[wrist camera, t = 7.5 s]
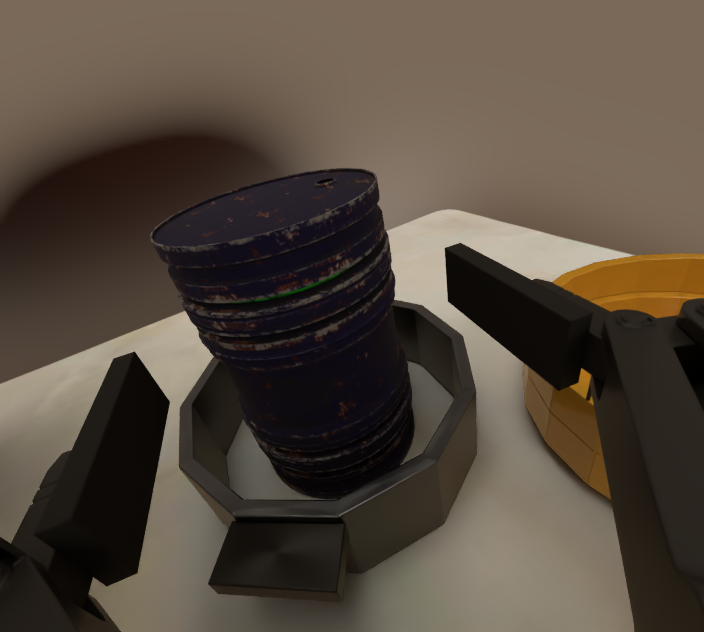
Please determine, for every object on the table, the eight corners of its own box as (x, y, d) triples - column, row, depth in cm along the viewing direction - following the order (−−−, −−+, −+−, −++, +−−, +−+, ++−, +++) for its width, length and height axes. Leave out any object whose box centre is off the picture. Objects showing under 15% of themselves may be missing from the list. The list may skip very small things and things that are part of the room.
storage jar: (296, 539, 18) (143, 280, 10) (251, 416, 25) (146, 216, 17) (450, 439, 21) (431, 177, 13) (368, 356, 28) (323, 162, 20)
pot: (517, 652, 13) (527, 599, 10) (137, 618, 16) (69, 572, 13) (450, 323, 30) (447, 271, 27) (272, 339, 33) (254, 295, 30)
